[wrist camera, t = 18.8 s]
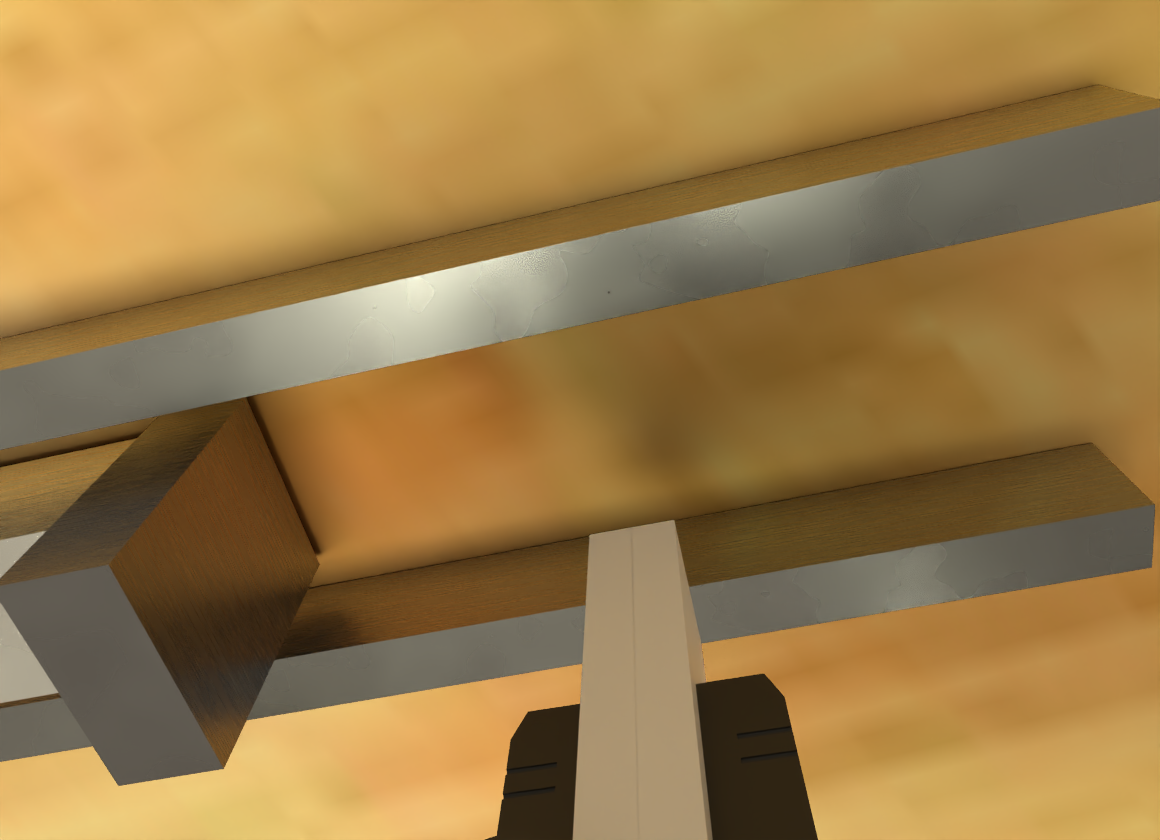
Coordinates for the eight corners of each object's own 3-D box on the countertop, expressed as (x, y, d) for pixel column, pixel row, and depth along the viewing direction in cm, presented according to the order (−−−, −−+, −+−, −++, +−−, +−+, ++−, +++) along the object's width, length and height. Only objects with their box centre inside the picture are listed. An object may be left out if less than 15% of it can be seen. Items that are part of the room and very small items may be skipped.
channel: (1097, 85, 16) (1340, 143, 11) (1091, 500, 20) (1267, 693, 15) (-618, 481, 21) (-1037, 659, 16) (-355, 759, 25) (-618, 977, 19)
